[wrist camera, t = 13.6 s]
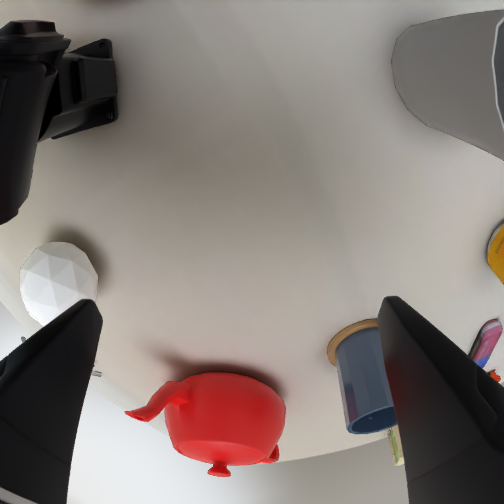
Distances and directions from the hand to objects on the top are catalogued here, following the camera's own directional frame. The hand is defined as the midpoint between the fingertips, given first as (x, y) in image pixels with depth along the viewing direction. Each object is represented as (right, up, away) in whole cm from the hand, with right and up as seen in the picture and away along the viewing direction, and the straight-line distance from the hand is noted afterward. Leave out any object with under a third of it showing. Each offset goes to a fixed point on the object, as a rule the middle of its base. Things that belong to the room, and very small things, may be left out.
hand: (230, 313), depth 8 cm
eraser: (+35, -12, +22) cm, 43 cm away
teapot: (-3, -16, +27) cm, 31 cm away
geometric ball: (-16, +1, +16) cm, 23 cm away
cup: (+14, +14, +6) cm, 21 cm away
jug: (+13, -10, +21) cm, 26 cm away
